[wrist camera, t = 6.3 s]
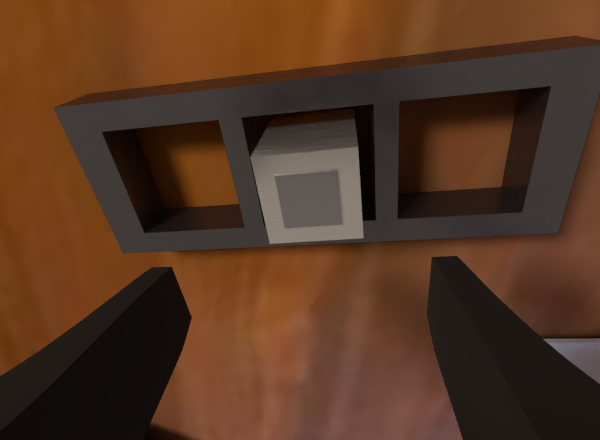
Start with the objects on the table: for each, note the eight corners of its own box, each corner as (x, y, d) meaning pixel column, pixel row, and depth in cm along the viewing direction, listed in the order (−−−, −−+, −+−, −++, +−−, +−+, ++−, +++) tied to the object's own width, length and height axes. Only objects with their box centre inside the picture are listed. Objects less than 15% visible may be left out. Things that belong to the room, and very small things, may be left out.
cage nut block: (353, 108, 17) (358, 147, 13) (358, 184, 19) (363, 239, 15) (271, 118, 18) (249, 158, 13) (284, 190, 20) (269, 245, 15)
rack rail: (574, 35, 15) (614, 43, 12) (533, 206, 19) (557, 233, 17) (87, 94, 18) (53, 107, 16) (143, 228, 22) (123, 253, 20)
